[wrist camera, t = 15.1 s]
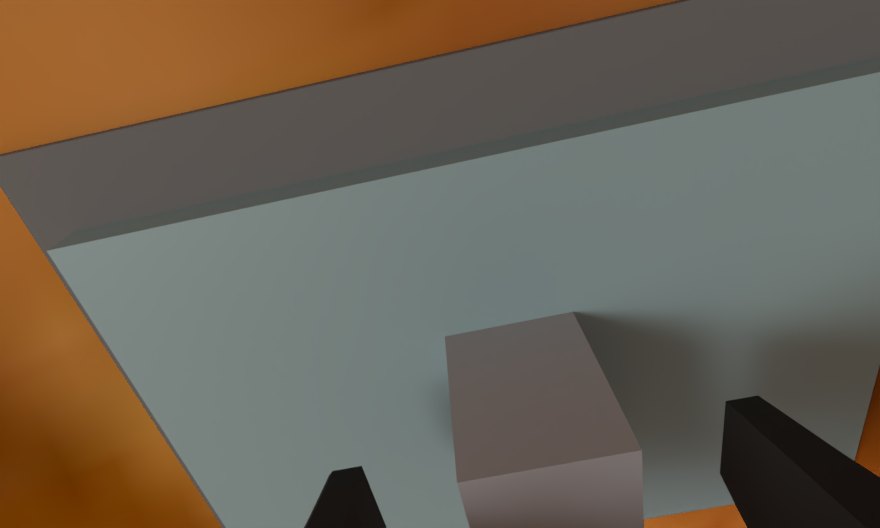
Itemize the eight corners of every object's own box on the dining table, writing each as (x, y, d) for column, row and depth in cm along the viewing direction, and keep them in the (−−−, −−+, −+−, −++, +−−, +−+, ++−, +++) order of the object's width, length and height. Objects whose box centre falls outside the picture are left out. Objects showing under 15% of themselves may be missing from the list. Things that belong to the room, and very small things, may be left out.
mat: (840, 466, 17) (850, 476, 16) (257, 565, 18) (254, 577, 17) (974, -67, 10) (995, -69, 9) (-2, 155, 11) (-17, 160, 10)
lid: (823, 457, 16) (983, 637, 11) (270, 552, 17) (217, 751, 12) (913, 49, 10) (1299, 89, 6) (75, 231, 11) (-147, 383, 7)
